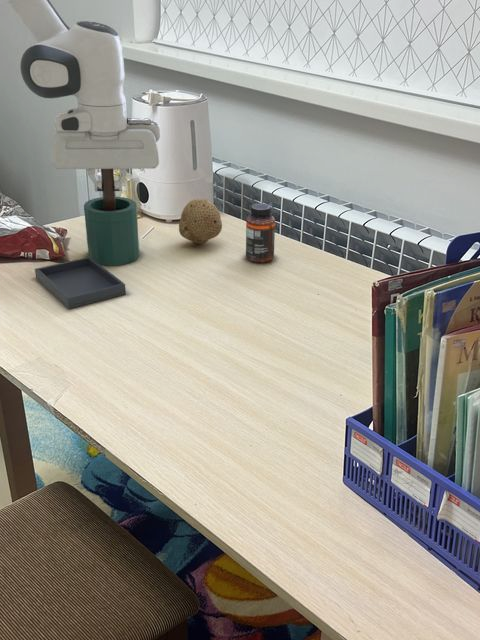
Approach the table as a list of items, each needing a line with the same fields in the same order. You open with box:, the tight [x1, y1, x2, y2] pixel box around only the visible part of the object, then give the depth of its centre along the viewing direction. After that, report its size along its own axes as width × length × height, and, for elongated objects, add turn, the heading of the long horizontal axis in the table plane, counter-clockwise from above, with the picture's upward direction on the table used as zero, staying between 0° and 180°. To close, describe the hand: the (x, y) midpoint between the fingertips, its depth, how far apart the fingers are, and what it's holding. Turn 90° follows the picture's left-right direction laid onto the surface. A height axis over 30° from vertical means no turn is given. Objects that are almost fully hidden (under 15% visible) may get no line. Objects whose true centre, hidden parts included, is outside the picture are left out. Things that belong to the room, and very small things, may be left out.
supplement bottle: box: [245, 202, 276, 264], centre depth 142 cm, size 6×6×11 cm
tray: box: [34, 256, 127, 310], centre depth 130 cm, size 15×11×2 cm
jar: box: [83, 196, 140, 267], centre depth 141 cm, size 10×10×11 cm
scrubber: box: [100, 169, 116, 211], centre depth 138 cm, size 4×4×16 cm
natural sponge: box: [178, 198, 223, 245], centre depth 148 cm, size 9×9×10 cm
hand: (108, 190), depth 136 cm, fingers closed on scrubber, 2 cm apart
